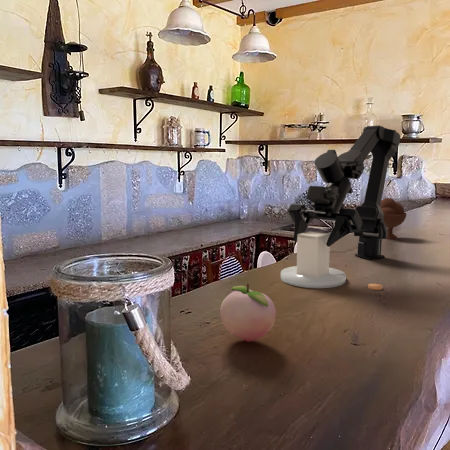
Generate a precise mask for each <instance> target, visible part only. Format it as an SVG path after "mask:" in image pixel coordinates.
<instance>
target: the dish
mask: <svg viewBox="0 0 450 450" xmlns="http://www.w3.org/2000/svg"><path fill="white" fill-rule="evenodd" d="M346 279H347V274H346V272H344V271H342V270H341V269H336V268H334V267H330V266H329V273H328V274H325V275H322V276H320V277H317V278H316V277H311V276H306V275H301V274H297V265H293V266H289V267H284V268H283V269H282V270H281V271H280V280H281V281H282V282H283V283H285V284H287V285H290V286H293V287H294V286H295V287H299V288H307V289H329V288H331V289H332V288H337V287H340V286H343V285H345V283H346V282H347V281H346Z"/></svg>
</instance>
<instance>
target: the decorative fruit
mask: <svg viewBox="0 0 450 450" xmlns="http://www.w3.org/2000/svg"><path fill="white" fill-rule="evenodd" d="M249 286H250V284H249V283H247V284H246V286H245V285H238V286H237V285H235V286H233V287H232V288H231V292H230V293H229V294H228V295H227V296H226V297H224V299H223V301H222V302H221V305H220V309H219V313H220V318H221V319H220V320H221V322H222V324H223V326H224V328H225V330H227V331H228V332H229V333H230V334H232V335H234V336H235V337H237V338H239V339H243V340H245V341H246V343H249V342H254V341H256V340H258V339H261V338H262V337H264V336H265V335H267V333H269V332H270V330H271V329H272V327H273V326H274V324H275V322H276V317H277V309H276V307H275V304H274V302H273V300H272V299H271V298H270V297H269V296H268V295H266V294H265V293H262V292H260V291H255V290H252V289H250V287H249Z"/></svg>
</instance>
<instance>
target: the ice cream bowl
mask: <svg viewBox="0 0 450 450" xmlns="http://www.w3.org/2000/svg"><path fill="white" fill-rule="evenodd" d="M380 207H381V209H382V212H383V214H384V222H385V225H386V227H387V229H388V235H387V239H386V240H398V236H397V235H395V234H394V233H393V230H394V228H395V227H396V228H397V227H398V226H400V225H401V224H403V223H404V222H405V220H406V218H407V212H405V209H404V206H402V204H401V203H399V202H397V201H395V199H393V198H389V197H385V198H384V199H383V198H382V199H381V205H380Z"/></svg>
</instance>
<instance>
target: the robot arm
mask: <svg viewBox="0 0 450 450" xmlns="http://www.w3.org/2000/svg"><path fill="white" fill-rule="evenodd" d="M400 144H401V135H400V133H399V132H397V130H396V129H390V128H386V127H385V126H384V125H382V126H381V125H367V126H365V127H364V128H363V130H362V133H361V134H360V135H359V137H358V138H357V139H356V141H355V142H354V143H353V145H352V146H351V147H350V149H349V150H348V151H346V152H343V153H340V154H339V155H338V154H337V151H336V150H335V149H327V151H326V152H323V153H322V154H320V155H318V156H317V157H316V158H315V159H314V166H315V168H316V170H317V172H318V174H319V176H320V178H321V180H322V182H323V183H326V185H325V186H322V185H309V186H308V189H307V194H306V196H305V197H306V198H305V199H306V200H309V201H310V202H311V204H310V205H311V207H312V208H314V209H313V210H312V209H308V208H307V207H306V205H305V204H300V203H291V204H290V205H289V207H288V209H287V212H288V215H289V216H290V218H291V219H292V221H293V222H294V230H293V231H294V232H293V241H294V242H295V243H297V234H300V233H304V232H306V230H307V229H308V227H309V226H308V224H309V223H310V222H311V219H313V220H321V221H323V222H324V221H325V222H334V225H333V228H332V230H331V231H330V233H329V234H330V236H329V238H328V240H327V243H326V245H327V247H329V246H330V247H331V246H332V245H334V244H335V243H336V242H338V241H339V240H341V239H342V238H344V237H346V236H347V235H349V234H353V236H354V237H358V242H357V253H354V256H355V257H359V258H363V259H366V260H376V259H382V258H385V257H386V256H385V255H383V254H382V240H388V239H387V235H388V228H387V227H386V225H385V222H384V214H383V212H382V209H381V207H380V205H381V201H382V200H383V193H384V188H385V183H386V178H387V175H388V174H387V172H388V167H389V162H390V160H391V159H392V158H393V157H394V156H395V154H396V153H397V151H398V147H399V145H400ZM370 154H371V155H372V159H371V163H370V164H371V165H370V168H369V169H370V170H369V175H368V179H367V185H366V190H365V195H364V199H363V200H364V201H363V202H362V204H361V205H357V206H356V208H351V207H345V204H344V201H345V199H346V198H347V196H348V194H353V188H352V183H351V180H358V179H360V177H361V176H362V175H363V173H364V170H365V164H364V162H365V160H366V159H367V157H368V156H369V155H370Z"/></svg>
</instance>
